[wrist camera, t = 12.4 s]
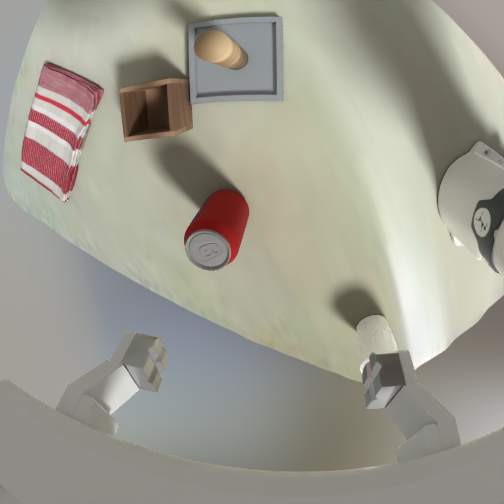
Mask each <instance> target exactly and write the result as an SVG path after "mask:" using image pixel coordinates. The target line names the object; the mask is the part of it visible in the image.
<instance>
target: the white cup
mask: <svg viewBox="0 0 504 504" xmlns="http://www.w3.org/2000/svg"><path fill="white" fill-rule="evenodd" d="M357 342H358V353H359V363H360V371H361V372H362V373H363V369H364V366H365V364H366V363H368V362H369V361H370V360H369V356H370V354H371V353H372V352H380V351H398V349H397V346H396V343H395V340H394V337H393V334H392V332H391V329H390V328H389V325H388V322H387V320H386V319H385V317H383V316H381V315H371V316H368V317H365V318H364V319H363V320H361V321H360V322H359V324H358V325H357Z"/></svg>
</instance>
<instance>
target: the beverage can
mask: <svg viewBox="0 0 504 504" xmlns="http://www.w3.org/2000/svg"><path fill="white" fill-rule="evenodd" d="M248 217H249V207H248V204H247V202H246V201H245V199H244V198H243V197H242V196H241V195H240V194H238V193H236V192H234V191H231V190H220V191H217V192H215V193H213V194H212V195H210V196H209V198H208V199H207V200H206V202H205V203H204V204H203V206H202V207H201V209H200V210H199V212H198V213H197V214H196V216H195V217H194V219H193V220H192V222H191V224H190V225H189V227H188V228H187V230H186V232H185V236H184V244H185V251H186V254H187V257H188V258H189V260H190V261H191V262H192V263H193V264H194V265H195V266H197V267H199V268H201V269H204V270H208V271H214V270H219V269H221V268H223V267H224V266H226V265H228V264H229V263H231V262H232V261H233V260H234V259H235V257H236V256H237V254H238V251H239V247H240V244H241V241H242V238H243V234H244V231H245V228H246V224H247V220H248Z"/></svg>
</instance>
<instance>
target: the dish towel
mask: <svg viewBox="0 0 504 504" xmlns="http://www.w3.org/2000/svg"><path fill="white" fill-rule="evenodd" d="M103 92H104V89H102V88H100V87H98V86H96V85H94V84H92V83H90V82H89V81H87V80H85V79H83V78H81V77H79V76H77V75H75V74H73V73H70V72H68V71H66V70H64V69H62V68H59V67H57V66H55V65H53V64H51V63H46V64H44V65H43V68H42V71H41V75H40V79H39V83H38V87H37V90H36V94H35V97H34V101H33V104H32V108H31V111H30V114H29V119H28V123H27V127H26V133H25V137H24V142H23V147H22V161H21V170H22V171H23V172H24V173H25V174H27V175H28V176H30V177H31V178H32V179H34V180H35V181H36V182H38V183H39V184H40V185H42V186H43V187H45V188H46V189H47V190H49V191H50V192H52V193H53V194H54V195H55V196H56V197H58V198H59V199H60V200H61V201H63V202H67V201H69V195H70V192H71V191H72V189H73V186H74V183H75V180H76V176H77V171H78V164H79V159H80V156H81V152H82V149H83V146H84V143H85V140H86V137H87V134H88V129H89V127H90V124H91V121H92V118H93V116H94V113H95V111H96V108H97V105H98V104H99V102H100V99H101V97H102V95H103Z"/></svg>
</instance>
